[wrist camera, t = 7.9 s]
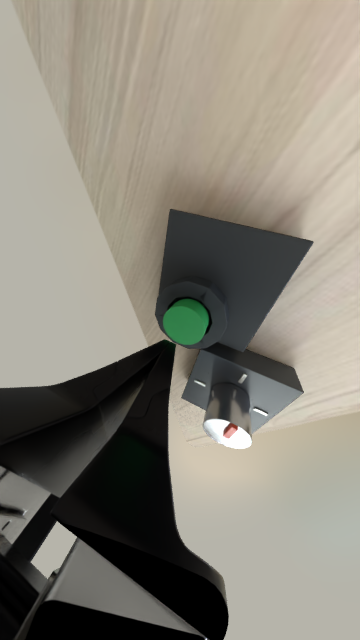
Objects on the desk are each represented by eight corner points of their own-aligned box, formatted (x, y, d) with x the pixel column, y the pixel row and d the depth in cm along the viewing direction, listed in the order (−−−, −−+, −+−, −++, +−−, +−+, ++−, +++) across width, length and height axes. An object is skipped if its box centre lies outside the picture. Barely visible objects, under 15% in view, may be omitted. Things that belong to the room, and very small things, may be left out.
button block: (163, 314, 18) (146, 330, 15) (179, 212, 13) (158, 203, 9) (240, 344, 16) (239, 370, 13) (302, 241, 11) (329, 241, 7)
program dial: (240, 414, 17) (239, 458, 14) (205, 397, 18) (196, 434, 15) (257, 394, 15) (262, 442, 12) (217, 376, 16) (210, 415, 12)
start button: (168, 325, 14) (160, 335, 13) (174, 292, 12) (166, 299, 11) (202, 339, 14) (197, 351, 12) (215, 306, 12) (211, 316, 10)
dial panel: (187, 381, 23) (180, 399, 20) (206, 333, 17) (200, 349, 15) (250, 411, 21) (252, 435, 18) (294, 368, 15) (304, 394, 13)
